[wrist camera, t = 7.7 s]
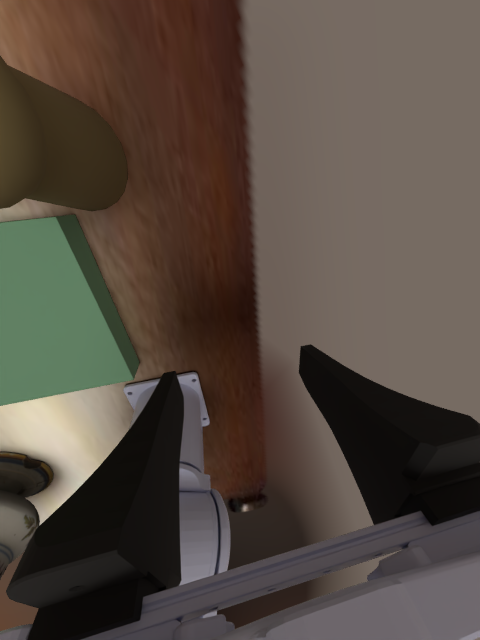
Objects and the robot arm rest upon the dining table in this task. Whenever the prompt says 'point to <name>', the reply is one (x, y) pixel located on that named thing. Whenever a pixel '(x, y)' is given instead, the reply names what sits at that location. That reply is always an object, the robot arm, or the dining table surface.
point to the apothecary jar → (19, 503)
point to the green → (56, 314)
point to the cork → (55, 147)
